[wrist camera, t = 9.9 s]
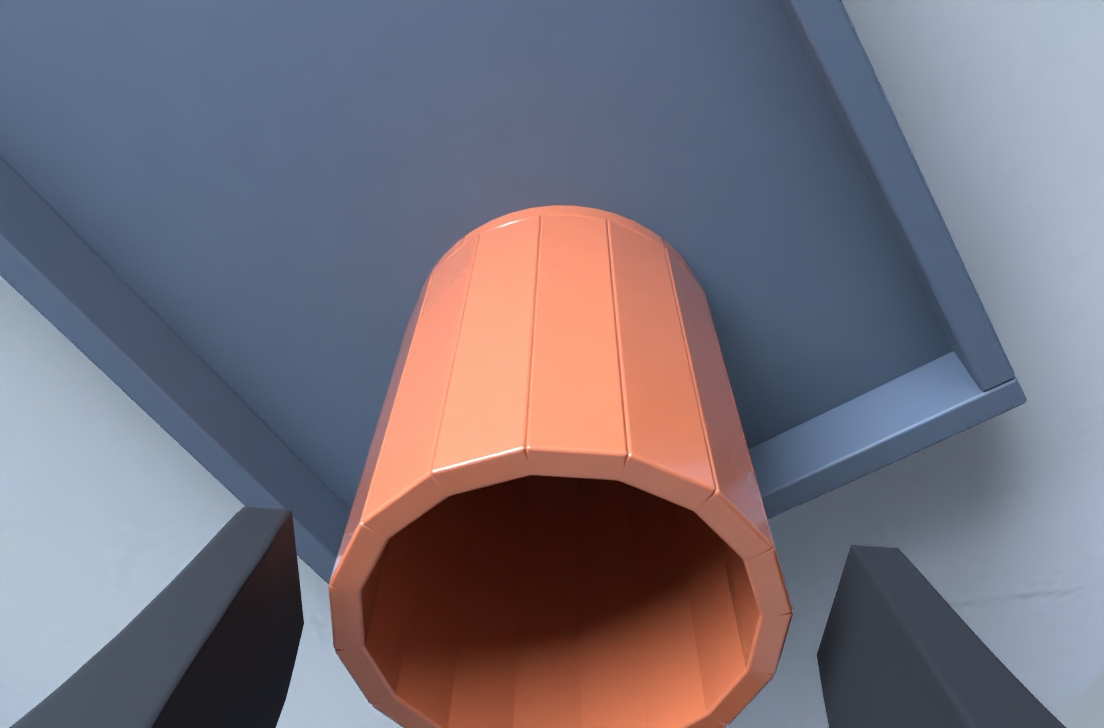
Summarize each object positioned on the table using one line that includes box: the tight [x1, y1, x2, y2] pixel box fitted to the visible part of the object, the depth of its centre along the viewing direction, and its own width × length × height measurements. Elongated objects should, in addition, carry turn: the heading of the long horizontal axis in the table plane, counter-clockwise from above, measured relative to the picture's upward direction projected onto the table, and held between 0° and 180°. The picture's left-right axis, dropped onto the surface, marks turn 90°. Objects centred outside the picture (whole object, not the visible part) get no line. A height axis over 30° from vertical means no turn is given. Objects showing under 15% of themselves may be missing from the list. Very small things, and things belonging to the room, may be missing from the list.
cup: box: [329, 205, 793, 728], centre depth 14 cm, size 6×6×7 cm
